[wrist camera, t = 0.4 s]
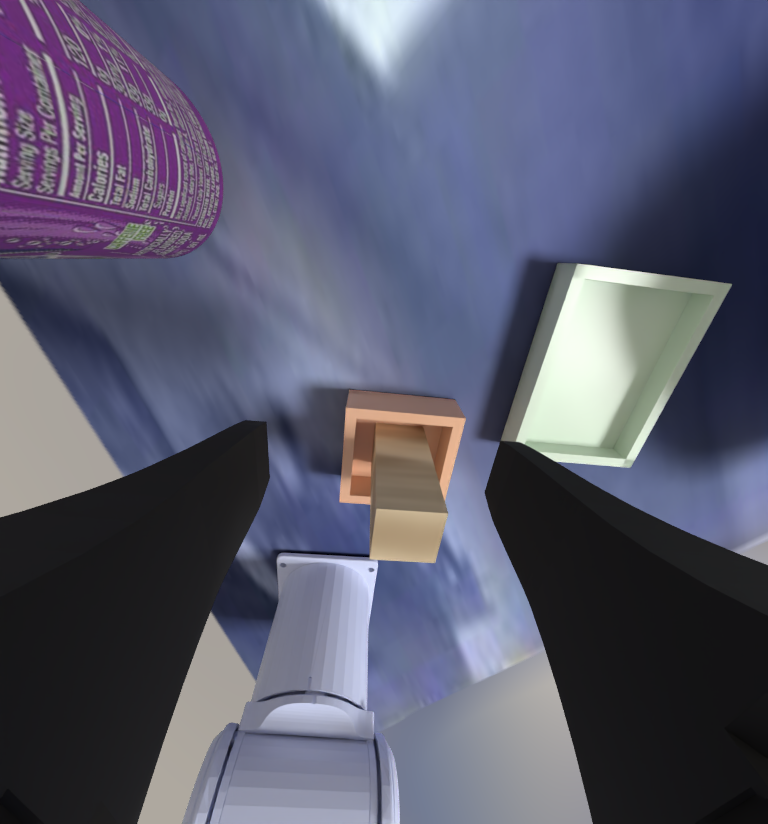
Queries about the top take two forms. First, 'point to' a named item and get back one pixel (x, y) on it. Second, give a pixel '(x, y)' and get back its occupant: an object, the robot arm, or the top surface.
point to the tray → (607, 361)
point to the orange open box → (377, 407)
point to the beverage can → (96, 144)
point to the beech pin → (404, 496)
